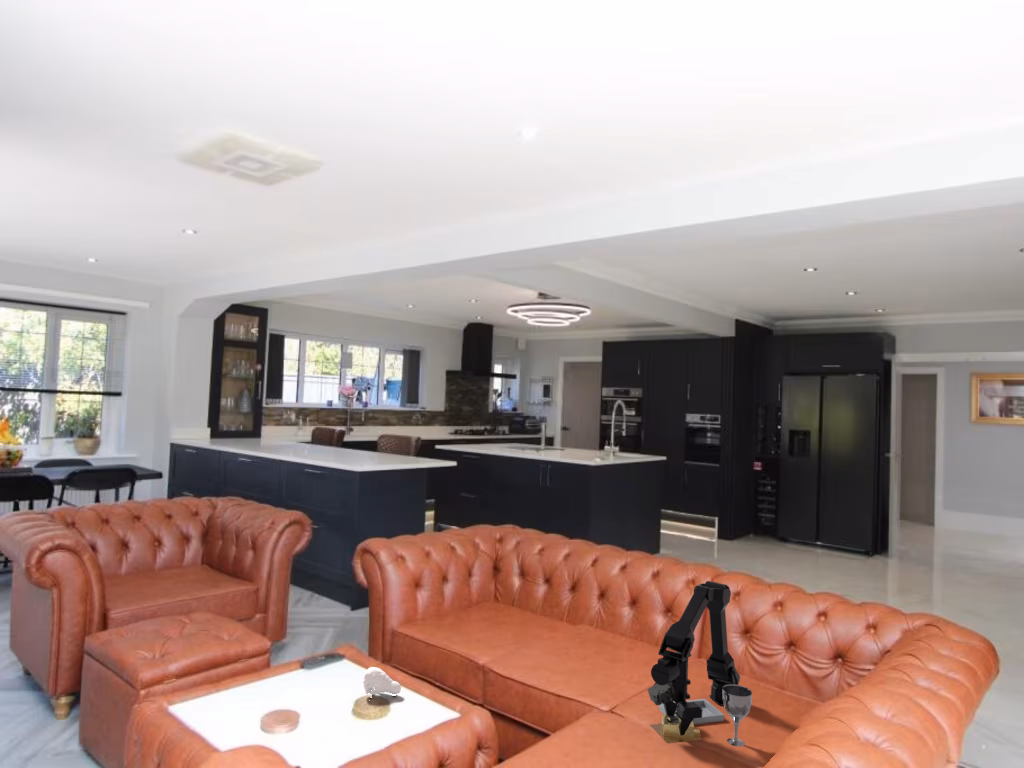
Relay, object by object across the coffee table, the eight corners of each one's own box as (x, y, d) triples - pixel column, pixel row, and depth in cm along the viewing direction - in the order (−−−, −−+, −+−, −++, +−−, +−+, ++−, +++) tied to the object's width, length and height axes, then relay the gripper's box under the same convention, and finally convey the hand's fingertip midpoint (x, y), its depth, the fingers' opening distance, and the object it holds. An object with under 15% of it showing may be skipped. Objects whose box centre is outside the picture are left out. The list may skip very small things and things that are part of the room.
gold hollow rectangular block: (663, 736, 197) (664, 724, 197) (661, 726, 203) (662, 715, 203) (701, 739, 196) (701, 727, 196) (698, 729, 202) (698, 718, 202)
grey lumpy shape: (368, 662, 222) (405, 668, 221) (365, 689, 222) (401, 695, 221) (362, 670, 216) (400, 676, 215) (359, 697, 216) (396, 704, 215)
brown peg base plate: (682, 722, 207) (683, 706, 207) (702, 740, 196) (702, 724, 196) (649, 726, 204) (649, 710, 204) (667, 745, 193) (668, 728, 193)
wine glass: (716, 736, 199) (718, 684, 199) (743, 736, 199) (745, 684, 199) (727, 751, 191) (729, 696, 191) (755, 750, 191) (757, 696, 191)
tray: (704, 705, 218) (704, 698, 218) (724, 722, 208) (724, 714, 208) (658, 710, 214) (658, 703, 214) (676, 727, 203) (676, 720, 203)
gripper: (637, 664, 207) (636, 716, 206) (667, 690, 189) (666, 748, 188) (671, 661, 209) (670, 713, 209) (704, 687, 191) (702, 744, 191)
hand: (676, 729), depth 200 cm, fingers closed on gold hollow rectangular block, 7 cm apart
